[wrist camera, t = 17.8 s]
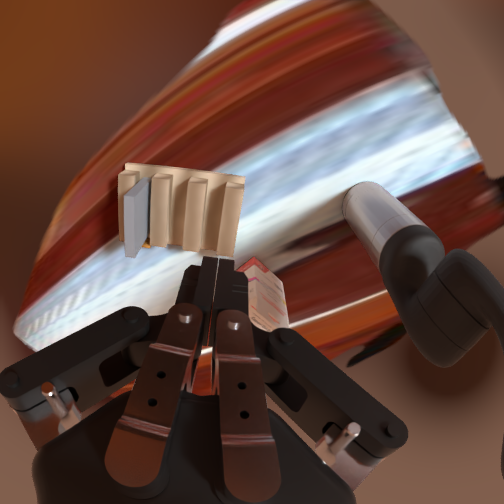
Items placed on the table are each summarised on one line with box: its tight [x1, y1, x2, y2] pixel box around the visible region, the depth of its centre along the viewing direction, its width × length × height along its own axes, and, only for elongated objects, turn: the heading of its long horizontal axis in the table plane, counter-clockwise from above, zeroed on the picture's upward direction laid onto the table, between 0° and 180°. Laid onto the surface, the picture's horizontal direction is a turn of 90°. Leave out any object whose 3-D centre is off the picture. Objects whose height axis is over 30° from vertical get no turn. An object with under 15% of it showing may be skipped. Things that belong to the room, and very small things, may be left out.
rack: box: [118, 163, 245, 257], centre depth 48 cm, size 20×14×4 cm
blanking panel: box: [124, 177, 152, 258], centre depth 44 cm, size 2×10×9 cm, turn 170°
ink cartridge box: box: [237, 257, 289, 333], centre depth 51 cm, size 9×5×15 cm, turn 43°
